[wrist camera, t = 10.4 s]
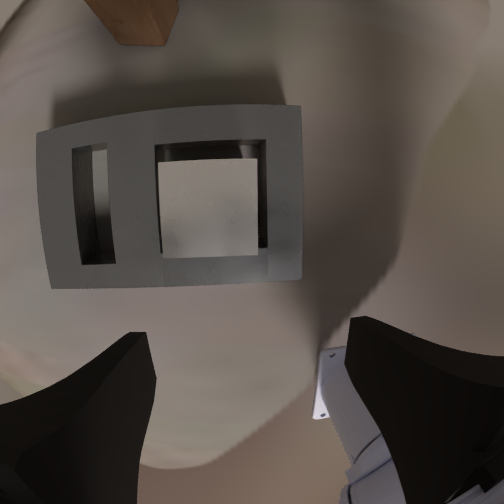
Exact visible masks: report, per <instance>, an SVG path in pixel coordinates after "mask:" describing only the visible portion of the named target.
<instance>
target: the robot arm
mask: <svg viewBox="0 0 504 504" xmlns="http://www.w3.org/2000/svg"><path fill="white" fill-rule="evenodd" d="M331 353H334V354H333V355H330V354H331ZM156 379H157V378H156V374H155V370H154V366H153V362H152V357H151V353H150V348H149V344H148V339H147V334H146V332H129V333H127V334H126V335H124V336H123V337H122V338H120V339H119V340H118V341H116V342H115V343H114V344H112V345H111V346H110V347H109V348H107V349H106V350H105V351H103V352H102V353H101V354H99V355H98V356H97V357H96V358H94V359H93V360H91V361H90V362H88V363H87V364H86V365H84V366H83V367H81V368H80V369H78V370H77V371H75V372H74V373H72V374H71V375H69V376H68V377H66V378H64V379H62V380H61V381H59V382H57V383H55V384H53V385H51V386H49V387H47V388H45V389H43V390H41V391H38V392H36V393H33V394H31V395H29V396H26V397H24V398H21V399H18V400H15V401H12V402H9V403H5V404H2V405H0V504H137V485H138V472H139V462H140V456H141V450H142V446H143V442H144V438H145V434H146V430H147V426H148V422H149V419H150V415H151V411H152V407H153V403H154V396H155V388H156ZM312 417H313V419H322V418H327V417H330V418H331V420H332V423H333V425H334V427H335V429H336V432H337V434H338V436H339V438H340V441H341V443H342V445H343V447H344V450H345V452H346V454H347V456H348V459H349V461H350V463H351V465H352V467H351V468H349V469H348V470H346V471H345V473H346V476H347V478H348V481H349V483H348V484H347V485H345V486H344V487H343V488H342V490H341V492H340V499H339V504H504V356H490V355H482V354H476V353H469V352H465V351H460V350H456V349H452V348H449V347H445V346H441V345H439V344H435V343H432V342H430V341H427V340H424V339H422V338H419V337H418V336H417V335H416V334H415V333H412V334H409V333H407V332H404V331H402V330H400V329H398V328H395V327H393V326H391V325H388V324H386V323H383V322H381V321H379V320H376V319H374V318H371V317H368V316H361V317H354V318H351V319H350V327H349V334H348V341H347V346H341V347H335V348H328V349H324V350H322V351H321V352H320V354H319V363H318V371H317V380H316V388H315V395H314V402H313V409H312Z"/></svg>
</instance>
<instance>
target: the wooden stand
mask: <svg viewBox="0 0 504 504" xmlns="http://www.w3.org/2000/svg"><path fill="white" fill-rule="evenodd" d="M84 1H85V2H86V3H87V4H88V6H89V7H90V8H91V9H92V10H93V12H94V13H95V14H96V15H97V17H98V18H99V19H100V20H101V22H102V23H103V24H104V25H105V26H106V28H107V29H108V30H109V31H110V33H111V34H112V35H113V36H114V38H115V39H116V40H117V41H118V43H120V44H123V45H150V46H164V45H165V44H166V42H167V39H168V36H169V34H170V31H171V28H172V26H173V23H174V21H175V18H176V16H177V13H178V11H179V9H178V4H177V0H84Z"/></svg>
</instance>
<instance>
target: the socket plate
mask: <svg viewBox="0 0 504 504" xmlns="http://www.w3.org/2000/svg"><path fill="white" fill-rule="evenodd" d="M234 145H259V163H260V211H261V237H258V255H248V256H221V257H193V258H164V259H163V248H162V235H161V220H160V202H159V177H158V162H165V149H177V148H191V147H208V146H234ZM104 149H107V161H108V186H109V202H110V214H111V225H112V235H113V243H114V251H115V252H105V253H99V245H98V237H97V229H96V219H95V208H94V195H93V177H92V151H97V150H104ZM36 171H37V192H38V205H39V216H40V225H41V233H42V240H43V246H44V253H45V259H46V264H47V269H48V275H49V279H50V284H51V289H90V288H142V287H174V286H199V285H221V284H241V283H259V282H276V281H291V280H302V253H303V157H302V122H301V106H296V105H270V104H231V105H205V106H189V107H177V108H166V109H157V110H149V111H141V112H134V113H127V114H121V115H115V116H109V117H103V118H98V119H93V120H88V121H83V122H79V123H74V124H70V125H66V126H61V127H57V128H54V129H50V130H46V131H42V132H39V133H37V136H36Z"/></svg>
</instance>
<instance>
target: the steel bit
mask: <svg viewBox="0 0 504 504" xmlns="http://www.w3.org/2000/svg"><path fill="white" fill-rule="evenodd" d="M158 177H159V202H160V220H161V235H162V248H163V259H164V258H193V257H221V256H248V255H258V190H257V159H210V160H188V161H172V162H158Z"/></svg>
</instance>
